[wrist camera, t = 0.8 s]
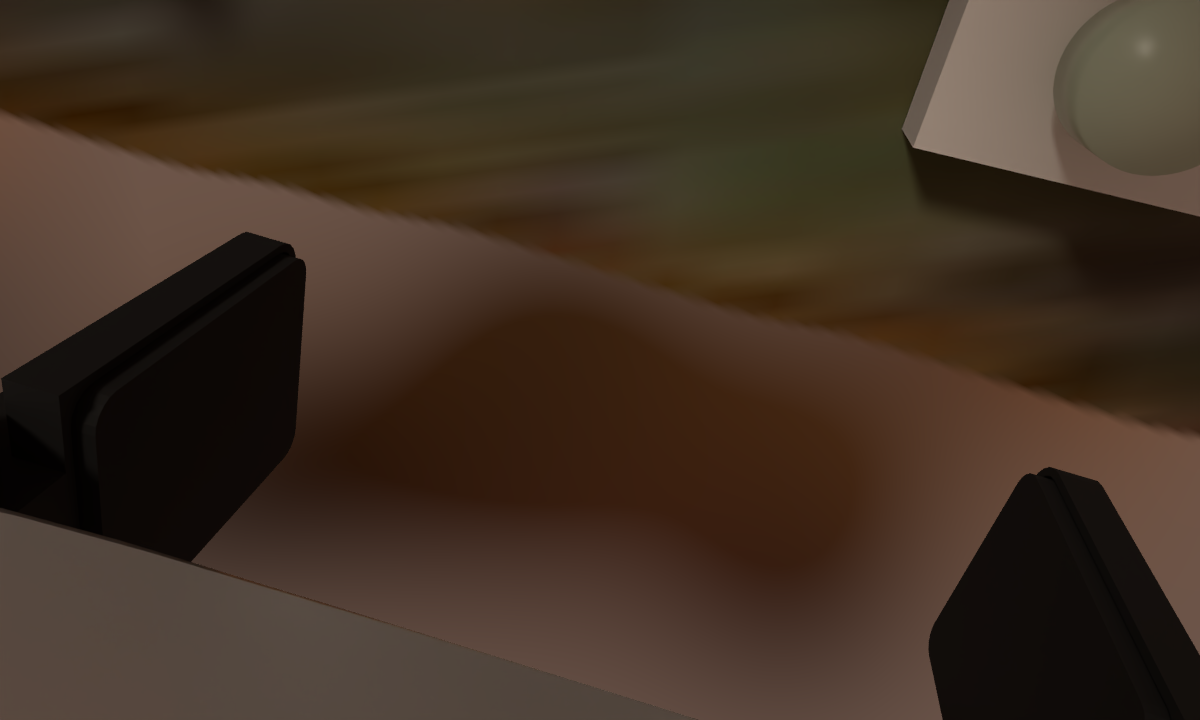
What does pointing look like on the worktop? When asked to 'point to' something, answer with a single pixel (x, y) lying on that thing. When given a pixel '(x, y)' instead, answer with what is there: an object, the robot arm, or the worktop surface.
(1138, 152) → the button green
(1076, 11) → the console
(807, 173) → the worktop surface
